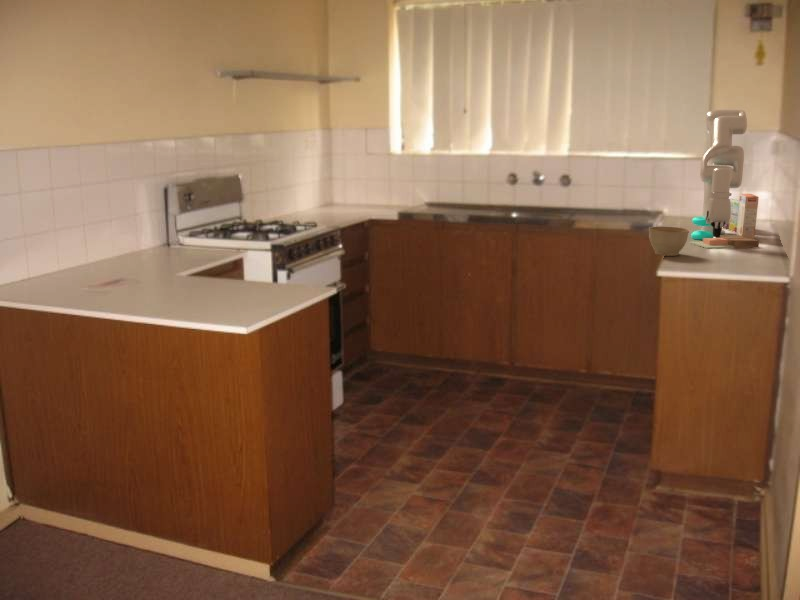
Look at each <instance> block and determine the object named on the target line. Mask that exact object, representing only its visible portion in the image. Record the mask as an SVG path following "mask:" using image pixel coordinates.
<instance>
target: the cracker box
mask: <svg viewBox="0 0 800 600" xmlns="http://www.w3.org/2000/svg"><path fill="white" fill-rule="evenodd" d="M759 198H760V197H759V196H757V195H754V194H752V193H740V194H739V212H738V222H737V232H735V234H736V235H739V236H743V237H747V238H750V239H754V240H755V234H756V228H757V227H756V226H757V225H756V224H757V216H758V208H759Z"/></svg>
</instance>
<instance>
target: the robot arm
mask: <svg viewBox="0 0 800 600" xmlns="http://www.w3.org/2000/svg"><path fill="white" fill-rule="evenodd" d="M747 118H748V117H747V114H746V111H745V110H742V109H713V110H710V111H708V112H707V113H706V116H705V122H706V127H707V130H708V133H709V144H708V149H707V150H706V151H705V153H704V154H703V156H702V157H701V161H700V171H699V172H700V174H699V177H700V180H701V181H702V183H703V189H704V190H703V204H702V205H703V207H702V216H701V217H705V219H706V224H710V225H711V226H701V228H700V229H697V231H709V232H711V233H712V234H713V238H716V237H720V236H722V235H725V234H726V231H725V229H723V228H722V227H723V226H724V225H725V224H728V223H729V220H730V216H731V203H730V199H731V198H730V197H731V196H732V194H733V193H731V192H730V189H738V188H740V187H741V185H742V183H743V182H742V181H743V174H744V160H745V151H744V149H743V147H742V146H741V145H733V135H744V134H745V133H746V132H747V128H748V119H747ZM708 162H709V164H710V165H708ZM711 221H712V222H711Z"/></svg>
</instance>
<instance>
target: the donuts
mask: <svg viewBox="0 0 800 600" xmlns="http://www.w3.org/2000/svg"><path fill="white" fill-rule="evenodd" d="M691 220H692V221H691V222H692V224H693V225H695V226H699V227H702V226H711V225H710V224H706V219H705V217H702V216H696V217H693V218H692V219H691ZM711 222H712V221H711ZM690 237H691V238H692V239H693V240H696V239H698V240H697V241H703V238H714V237H713V234H712V233H711V232H709V231H698V230H695V231H693V232H692V233H691V234H690Z"/></svg>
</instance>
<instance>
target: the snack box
mask: <svg viewBox="0 0 800 600" xmlns="http://www.w3.org/2000/svg"><path fill="white" fill-rule="evenodd" d="M729 199H730V203H731V216H730V220H729V223H728V224H725V225H724V226H723V228H722V229H724V228H726V229H725V230H727V229H729V230H728V231H730V230H732V232H733V231H735V232H734V233H736V232H737V222H738V212H739V201H740V199H734V198H729Z"/></svg>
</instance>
